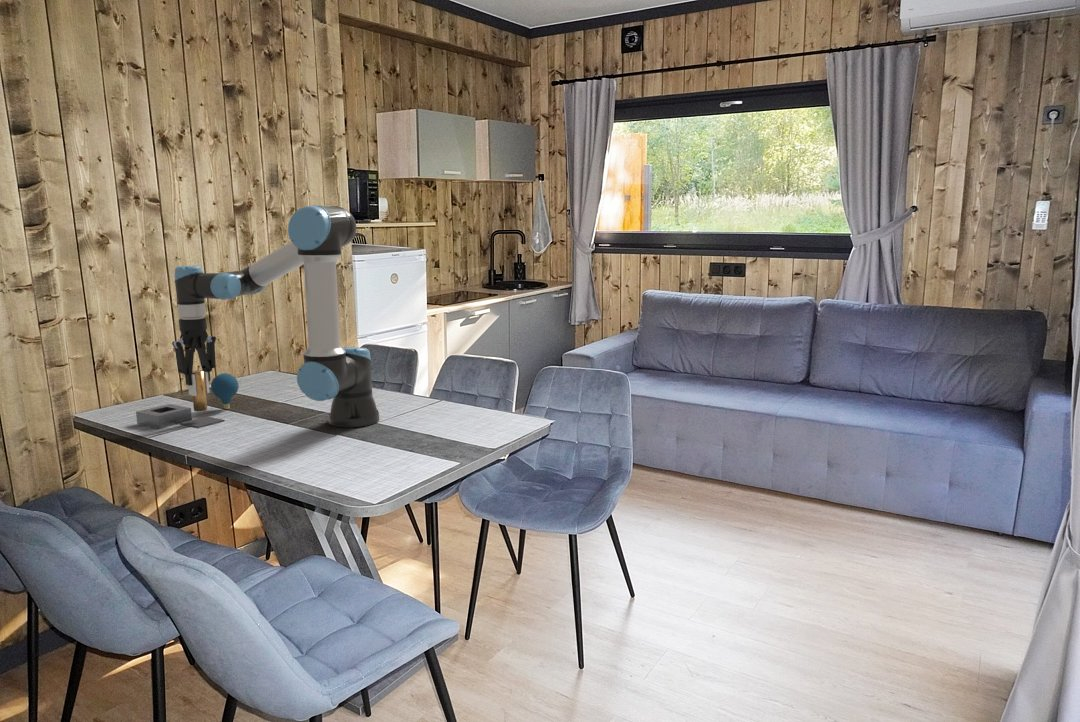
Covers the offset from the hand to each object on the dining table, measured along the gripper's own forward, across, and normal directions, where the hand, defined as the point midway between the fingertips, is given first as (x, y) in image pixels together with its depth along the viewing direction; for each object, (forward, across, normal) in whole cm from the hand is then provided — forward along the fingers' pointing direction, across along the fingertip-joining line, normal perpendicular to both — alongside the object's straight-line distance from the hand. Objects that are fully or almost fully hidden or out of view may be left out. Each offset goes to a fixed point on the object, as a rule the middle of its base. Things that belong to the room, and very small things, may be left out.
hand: (199, 393), depth 231 cm
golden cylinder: (+5, 0, 0) cm, 5 cm away
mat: (+9, 0, 0) cm, 9 cm away
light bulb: (+9, -14, -7) cm, 19 cm away
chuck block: (+9, +6, -10) cm, 15 cm away
